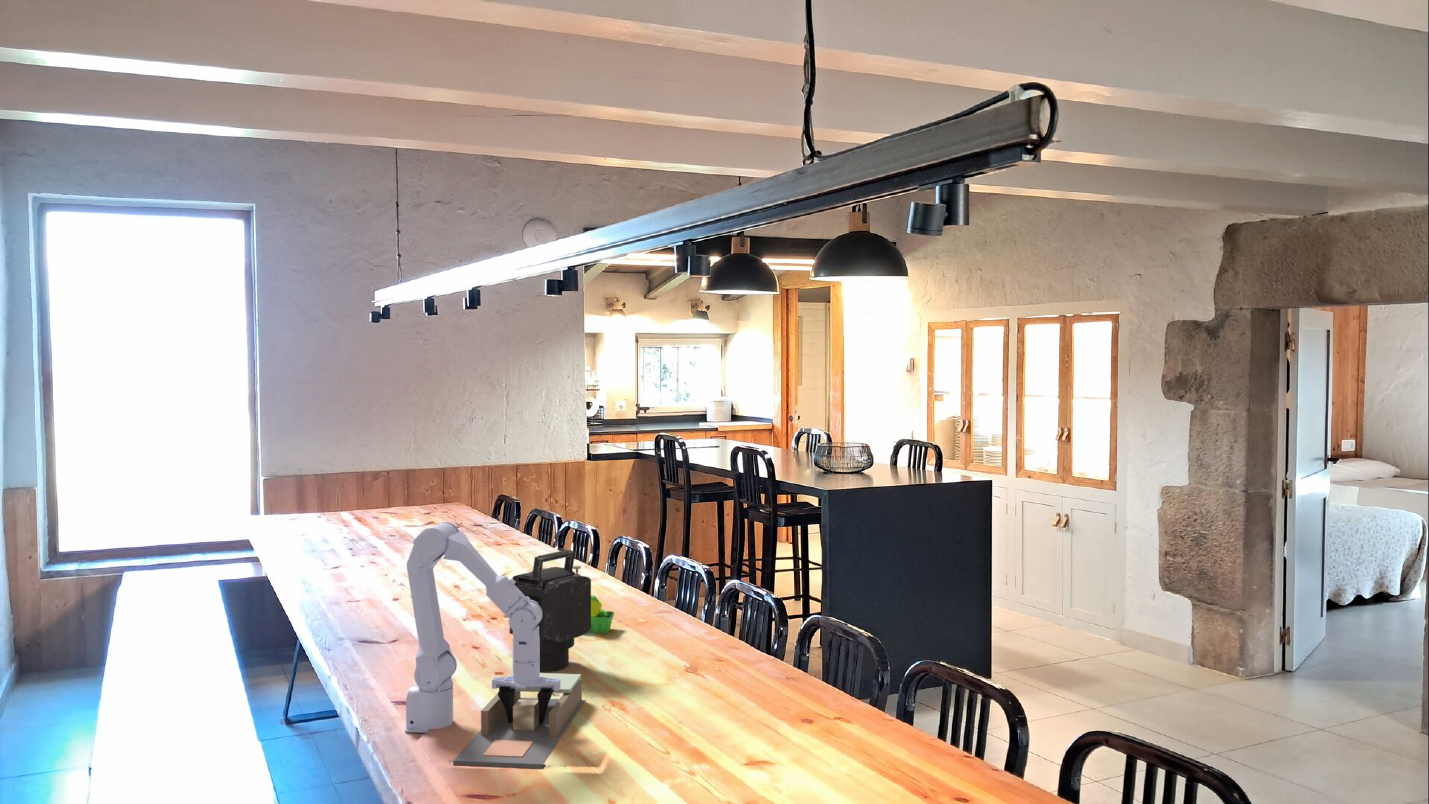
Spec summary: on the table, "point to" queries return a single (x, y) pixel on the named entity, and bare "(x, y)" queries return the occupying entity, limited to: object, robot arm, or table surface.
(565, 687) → the lid
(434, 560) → the robot arm
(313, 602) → the table surface
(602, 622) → the fruit basket
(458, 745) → the table surface
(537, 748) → the board
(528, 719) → the block
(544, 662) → the lantern
